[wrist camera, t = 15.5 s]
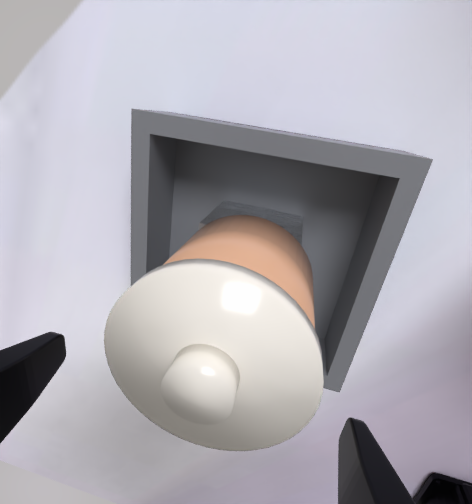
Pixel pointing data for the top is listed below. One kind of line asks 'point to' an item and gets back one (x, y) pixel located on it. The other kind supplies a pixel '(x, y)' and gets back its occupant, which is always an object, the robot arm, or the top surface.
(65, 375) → the top surface
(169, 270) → the ceramic canister
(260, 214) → the steel block
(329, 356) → the tote
